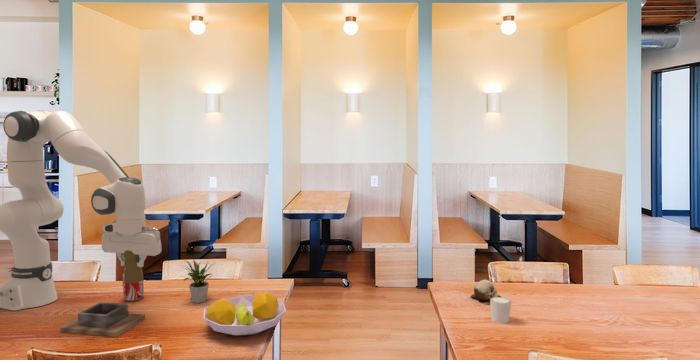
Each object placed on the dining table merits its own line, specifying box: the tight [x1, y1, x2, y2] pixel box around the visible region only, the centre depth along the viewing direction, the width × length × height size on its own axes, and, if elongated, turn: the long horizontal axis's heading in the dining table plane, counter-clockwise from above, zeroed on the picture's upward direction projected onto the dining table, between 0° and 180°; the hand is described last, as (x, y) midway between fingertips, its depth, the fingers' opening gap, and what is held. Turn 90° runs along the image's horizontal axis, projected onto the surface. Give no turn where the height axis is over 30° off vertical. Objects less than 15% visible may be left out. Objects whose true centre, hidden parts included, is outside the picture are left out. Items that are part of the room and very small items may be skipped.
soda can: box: [122, 268, 145, 302], centre depth 180 cm, size 7×7×12 cm
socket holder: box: [59, 302, 146, 338], centre depth 156 cm, size 20×15×6 cm
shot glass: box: [490, 296, 512, 324], centre depth 161 cm, size 7×7×7 cm
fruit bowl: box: [203, 291, 287, 336], centre depth 153 cm, size 28×27×11 cm
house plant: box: [177, 258, 215, 304], centre depth 178 cm, size 14×14×16 cm
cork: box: [124, 251, 144, 283], centre depth 160 cm, size 6×6×11 cm
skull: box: [469, 279, 502, 306], centre depth 181 cm, size 12×10×10 cm
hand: (132, 266), depth 160 cm, fingers closed on cork, 4 cm apart
